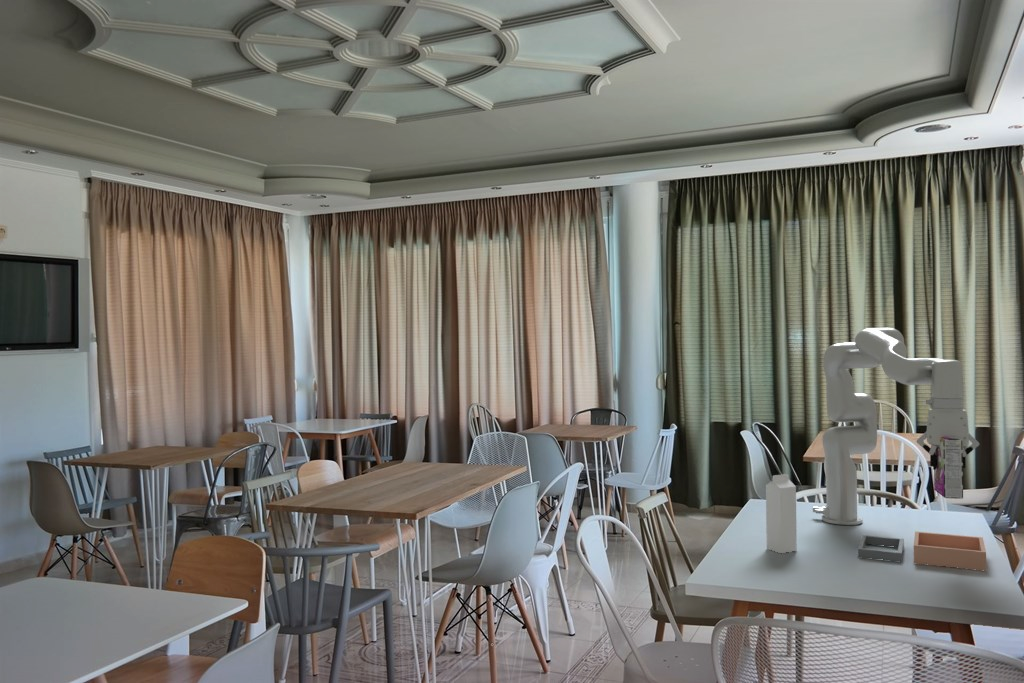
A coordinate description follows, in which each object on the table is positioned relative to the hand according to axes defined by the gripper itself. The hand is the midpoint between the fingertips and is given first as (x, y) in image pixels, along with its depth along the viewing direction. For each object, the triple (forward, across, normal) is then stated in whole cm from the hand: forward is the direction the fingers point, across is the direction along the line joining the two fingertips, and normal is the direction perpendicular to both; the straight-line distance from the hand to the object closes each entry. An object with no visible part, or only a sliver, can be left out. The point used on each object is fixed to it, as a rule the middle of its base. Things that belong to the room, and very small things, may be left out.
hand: (947, 469), depth 223 cm
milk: (+25, -43, -9) cm, 51 cm away
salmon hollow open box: (+25, 0, 0) cm, 25 cm away
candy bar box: (+7, 0, 0) cm, 7 cm away
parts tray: (+25, -17, 0) cm, 30 cm away
